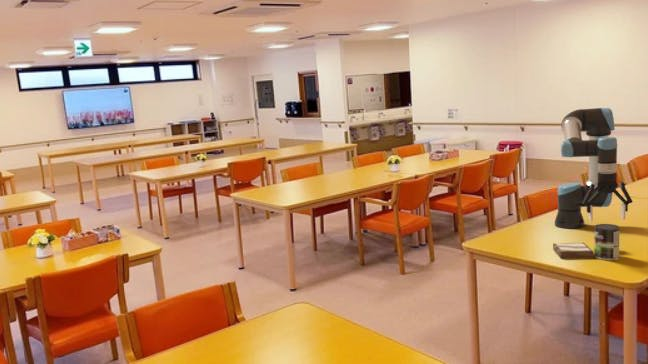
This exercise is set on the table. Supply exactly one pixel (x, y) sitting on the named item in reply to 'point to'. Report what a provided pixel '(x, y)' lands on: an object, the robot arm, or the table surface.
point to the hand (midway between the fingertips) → (606, 219)
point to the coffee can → (606, 241)
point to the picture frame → (572, 250)
